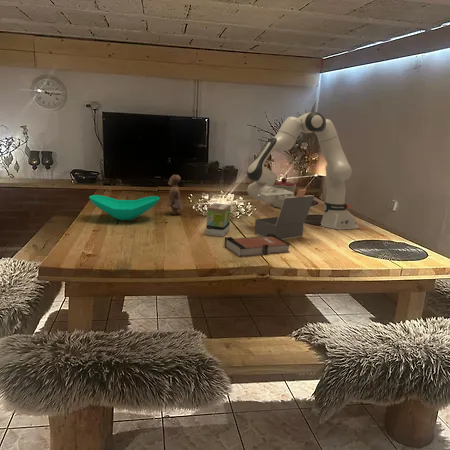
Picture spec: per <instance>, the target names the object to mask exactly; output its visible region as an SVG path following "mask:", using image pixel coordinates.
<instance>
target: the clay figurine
mask: <svg viewBox="0 0 450 450" xmlns="http://www.w3.org/2000/svg"><path fill="white" fill-rule="evenodd" d="M181 180H182V178H181V176H180V175H179V174H172V175H171V176H170V178H169V179H168V182H167V184H168V185H169V186H171V188H169V193H168V198H169V200H168V203H166V207H168V208H169V207H170V208H171V211H172V212H171V214H178V215H180V212H179V210H182V211H183V210H184V206H183V203H182V200H181V192H180V187H179V185H178V183H179V182H180V181H181Z"/></svg>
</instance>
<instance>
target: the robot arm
mask: <svg viewBox="0 0 450 450" xmlns="http://www.w3.org/2000/svg"><path fill="white" fill-rule="evenodd" d="M311 133H314V134H315V135H316V137H317V142H318V144H319V146H320V150H321V153H322V156H323V157H324V159H325V161H326V165H325V181H326V191H325V201H324V204H323V214H322V218H321V221H320V224H321V225H320V226H321V227H324V228H329V229H333V230H353V229H360V228H359V227H360V226H359V225H358V224H357V223H356V218H355V216H354V215H353V214H352V213H351V212H350V211H349V210H347V209H350V208H351V205H350V204H347V203H346V201H345V200H346V191H347V189H346V184H345V181H347V180H349V179H350V178H351V176H352V173H353V169H352V167H351V165H350V163H349V161H348V159H347V156H346V154H345V152H344V150H343V147H342V144H341V141H340V138H339V135H338V131H337V129H336V128H335V125H334V123H333V122H332V120H331V119H330V118H324V116H323V115H322V114H321V113H320V112H318V111H311V112H310V111H309V112H305V113H304V114H301V115H299V116H297V117H296V116H288V117H287V118H286V119H284V122H282V124H281V126H280V128H279V129H278V131H277V133H276V134H275V136H274V137H271V138H269V139H268V140H267V141H266V142H265V144H264V145H263V147H262V148H261V150H259V152H258V154H257V155H256V156H255V158H254V159H253V160H252V162H251V163H250V164H249V165H248V166H247V169H246V175H247V177H248V179H249V180H251V181H253V182H252V183H249V185H248V186H247V195H249V197H251V198H252V199H254V200H257V201H262V202H265V203H270V204H272V202H275V201H279V200H284V198H287V197H295V192H294V193H293V192H291V191H287V190H283V188H276V187H274V185H275V183H276V181H277V174H276V172H274V171H273V170H271V169H270V168H268V167H266V166H265V163H266V162H267V160H268V159H269V157H270V156H271V154H272V153H273V152H275V151H279V152H286V151H289V150H291V149H292V148H293V147H294V145H295V144H296V142H297V139H298V137H299V135H300V134H311Z"/></svg>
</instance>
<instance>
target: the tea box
mask: <svg viewBox="0 0 450 450" xmlns="http://www.w3.org/2000/svg"><path fill="white" fill-rule="evenodd" d="M231 207H232V205H231V204H227V203H216V202H215V203H212V204H210V206H209V205H208V207H206V208H207V209H206V210H207V211H206V227H205V228H206V229H205V235H206V234H207V236H213V237H214V236H216V237H224V236H225V235H226V234H227V233H228V232H229V231H230V223H231Z"/></svg>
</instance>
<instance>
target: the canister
mask: <svg viewBox="0 0 450 450" xmlns="http://www.w3.org/2000/svg"><path fill="white" fill-rule="evenodd" d="M274 187H276V188H283V190H287V191H291V192H293V193H294V194H295V189H296V187H297V185H296V184H295V182H292V181H287V179H286V177H281V178H280V180H278V181H277V180H276V183H275V185H274ZM283 201H284V200H279V201H275V202H272V203H271V205H272V206H273V207H274V208H276V209H281V207H282V204H283Z"/></svg>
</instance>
